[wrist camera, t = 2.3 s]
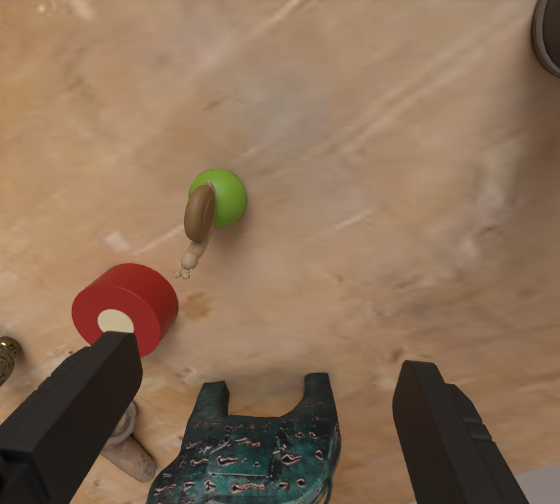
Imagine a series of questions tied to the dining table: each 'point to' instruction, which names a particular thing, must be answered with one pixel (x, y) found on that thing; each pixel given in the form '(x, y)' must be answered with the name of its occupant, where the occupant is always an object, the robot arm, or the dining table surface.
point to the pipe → (129, 449)
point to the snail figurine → (210, 211)
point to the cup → (7, 357)
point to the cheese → (126, 306)
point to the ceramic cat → (254, 452)
